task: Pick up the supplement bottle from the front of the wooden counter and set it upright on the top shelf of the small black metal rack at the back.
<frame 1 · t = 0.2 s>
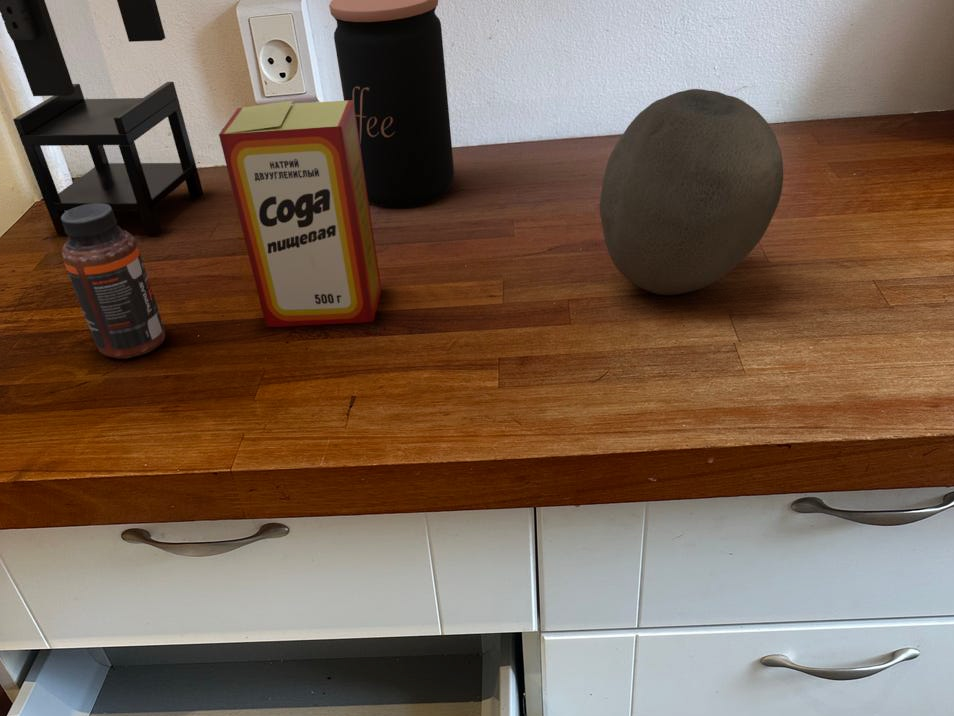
hand: (104, 66, 67), 21 cm above the table, tool pointing down, fingers open, 13 cm apart
supplement bottle: (134, 347, 83), on the table
baking soda box: (325, 309, 85), on the table
rack: (132, 214, 105), on the table
dark grey oval lump: (680, 288, 83), on the table
coffee jar: (407, 193, 104), on the table
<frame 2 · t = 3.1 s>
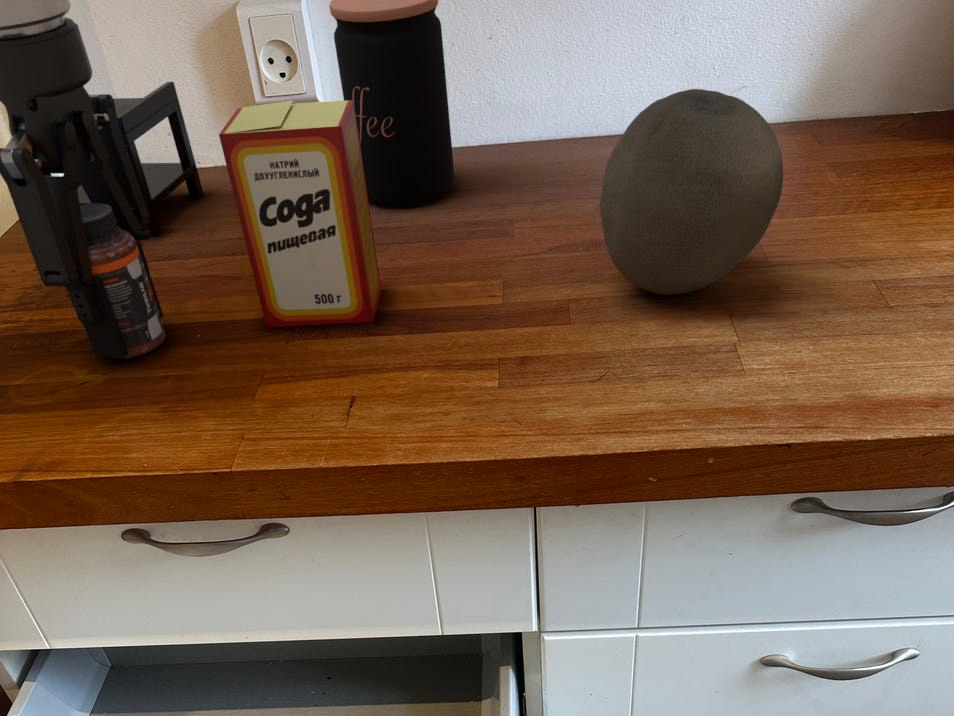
hand: (130, 335, 82), 1 cm above the table, tool pointing down, fingers closed on supplement bottle, 6 cm apart
supplement bottle: (134, 347, 83), on the table, touching gripper
everything else where it was.
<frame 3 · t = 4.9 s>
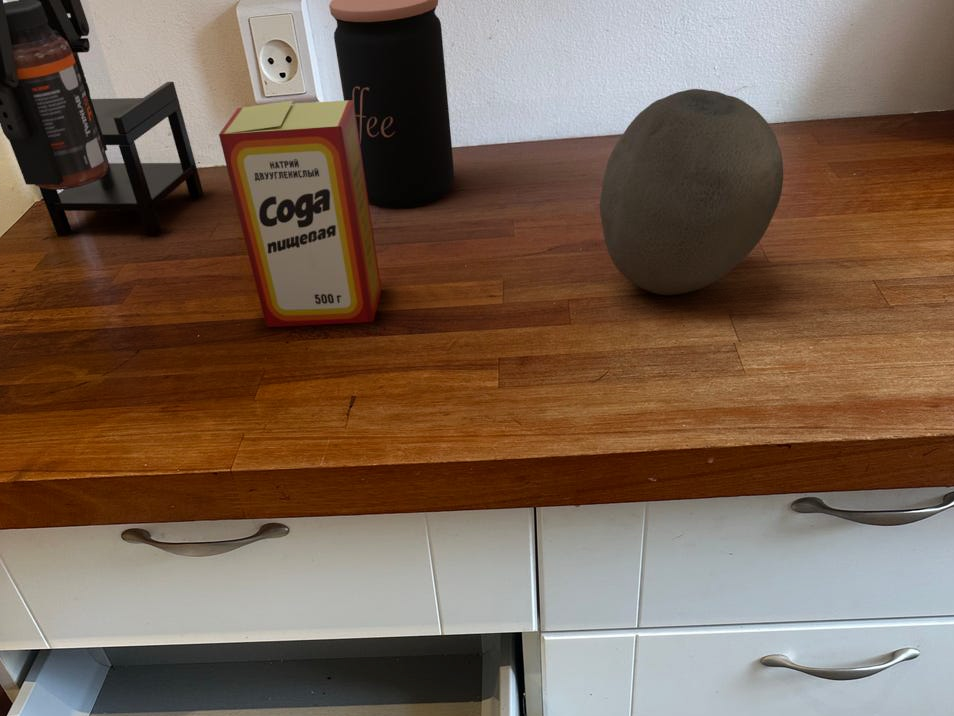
hand: (67, 165, 72), 15 cm above the table, tool pointing down, fingers closed on supplement bottle, 6 cm apart
supplement bottle: (73, 181, 73), point 14 cm above the table, touching gripper
everything else where it was.
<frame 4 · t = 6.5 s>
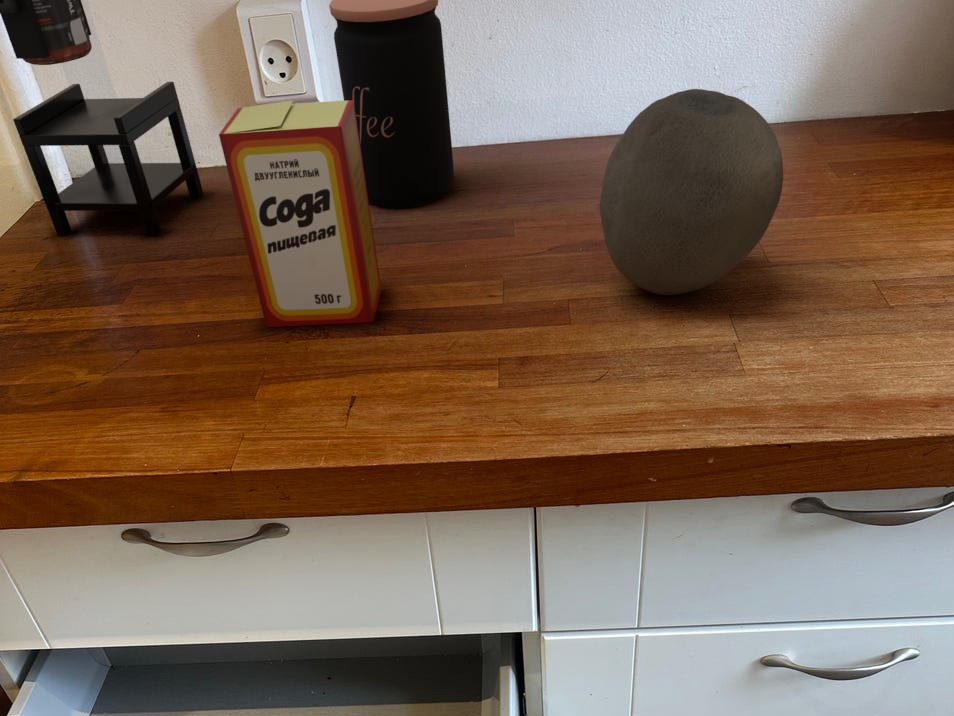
hand: (54, 45, 80), 20 cm above the table, tool pointing down, fingers closed on supplement bottle, 6 cm apart
supplement bottle: (59, 60, 81), point 18 cm above the table, touching gripper
everything else where it was.
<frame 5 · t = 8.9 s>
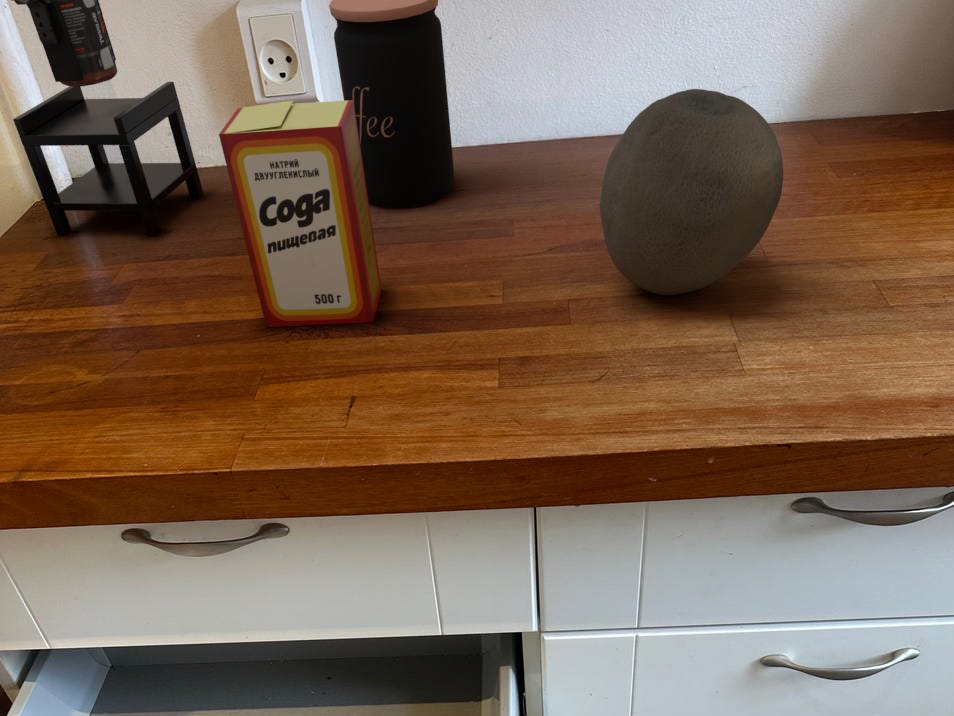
hand: (86, 70, 95), 14 cm above the table, tool pointing down, fingers closed on supplement bottle, 6 cm apart
supplement bottle: (90, 82, 96), point 13 cm above the table, touching gripper
everything else where it was.
when the fingers open (11 cm above the table, at t = 10.1 s): supplement bottle stays where it is, resting on rack.
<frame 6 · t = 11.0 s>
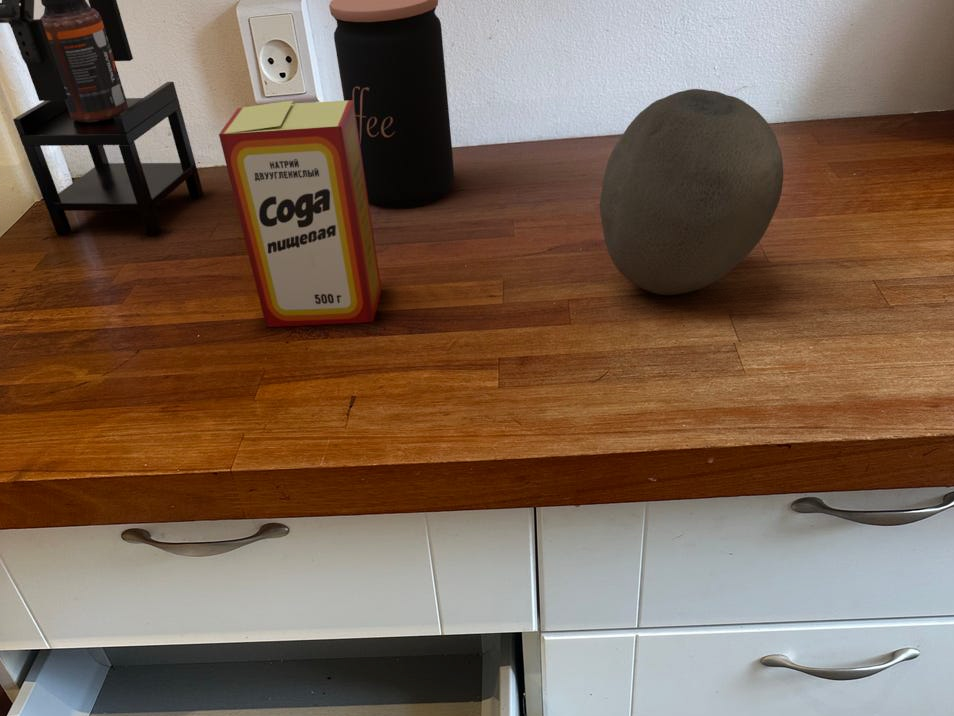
hand: (88, 79, 96), 13 cm above the table, tool pointing down, fingers open, 13 cm apart
supplement bottle: (101, 117, 98), point 10 cm above the table, touching rack
everything else where it was.
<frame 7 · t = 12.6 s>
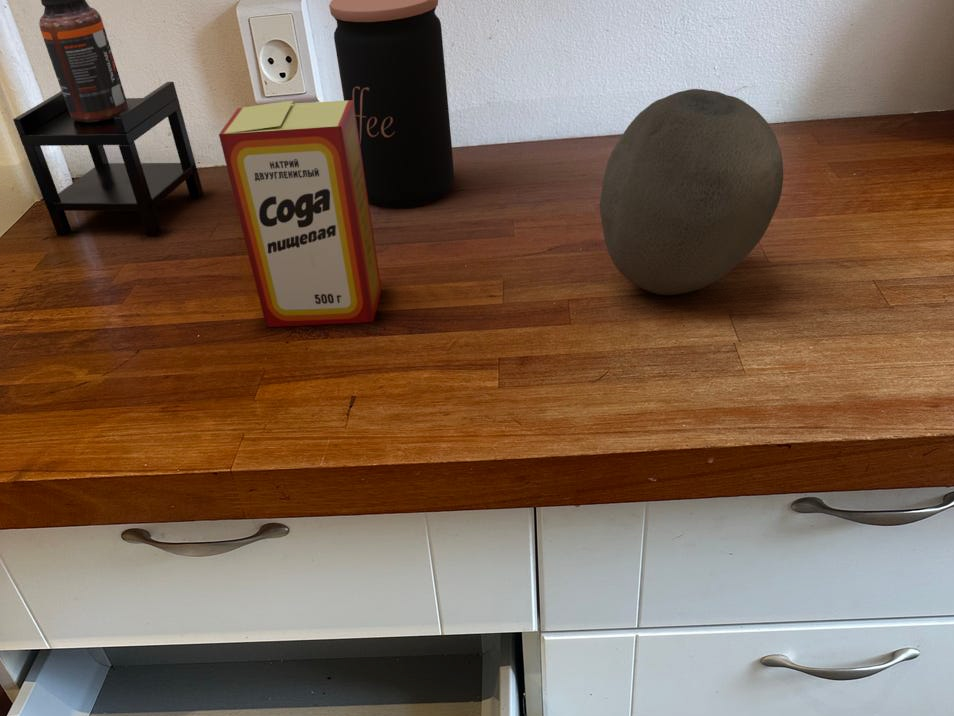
nothing on the table moved.
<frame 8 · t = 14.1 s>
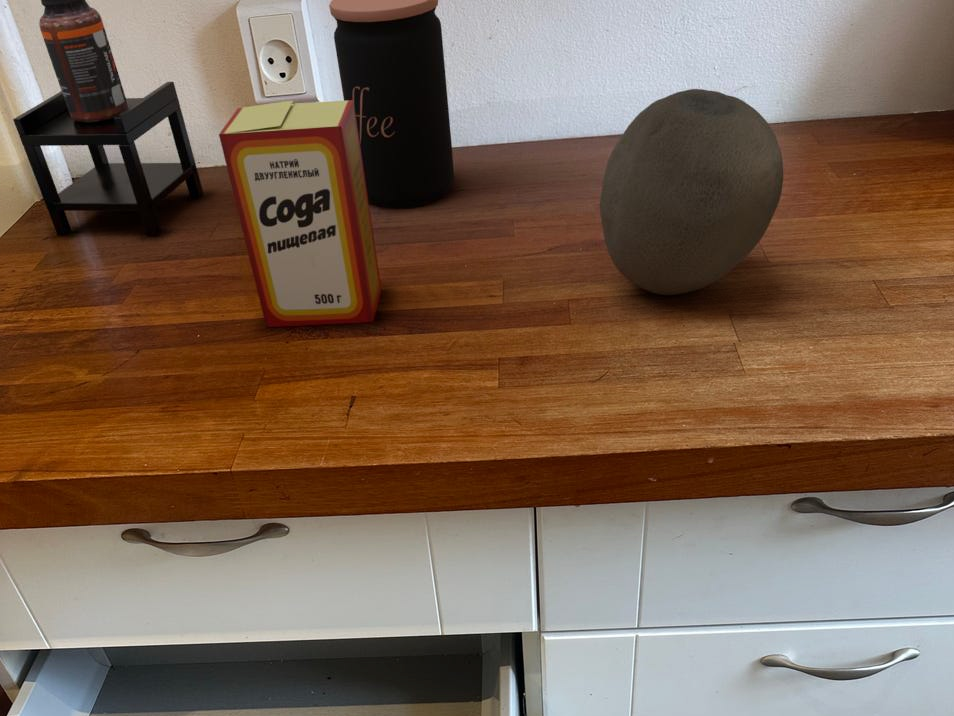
nothing on the table moved.
at the end: supplement bottle inside the target area on the rack (0.0 cm from its centre), point 9.8 cm above the rack's base; supplement bottle tilted 0°; the gripper is holding nothing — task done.
